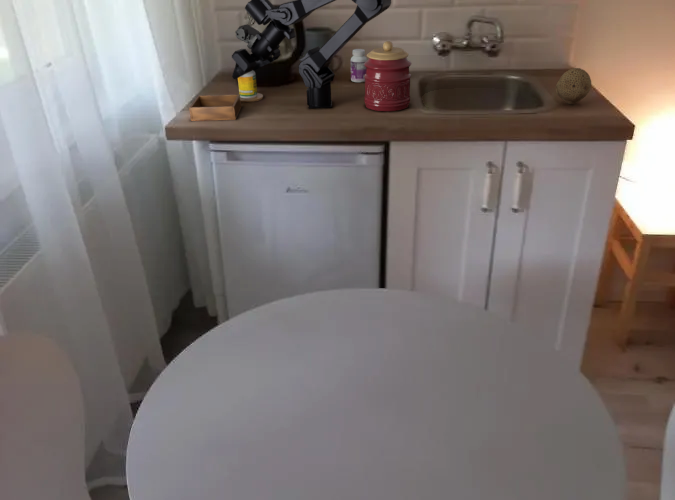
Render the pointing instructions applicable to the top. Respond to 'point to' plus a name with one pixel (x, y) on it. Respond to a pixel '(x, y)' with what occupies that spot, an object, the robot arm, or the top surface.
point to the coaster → (258, 97)
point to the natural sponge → (573, 85)
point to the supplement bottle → (247, 85)
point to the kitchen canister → (387, 79)
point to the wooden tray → (215, 107)
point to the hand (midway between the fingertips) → (241, 74)
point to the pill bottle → (358, 65)
